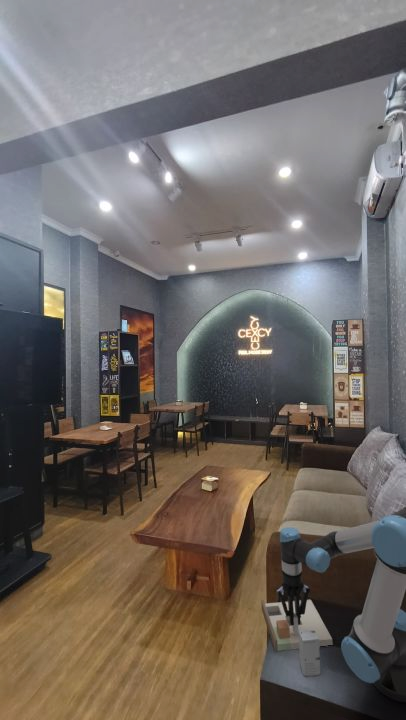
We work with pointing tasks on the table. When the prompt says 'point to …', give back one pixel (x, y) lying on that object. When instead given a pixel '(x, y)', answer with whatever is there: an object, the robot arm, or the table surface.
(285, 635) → the block
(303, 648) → the skincare box
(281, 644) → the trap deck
